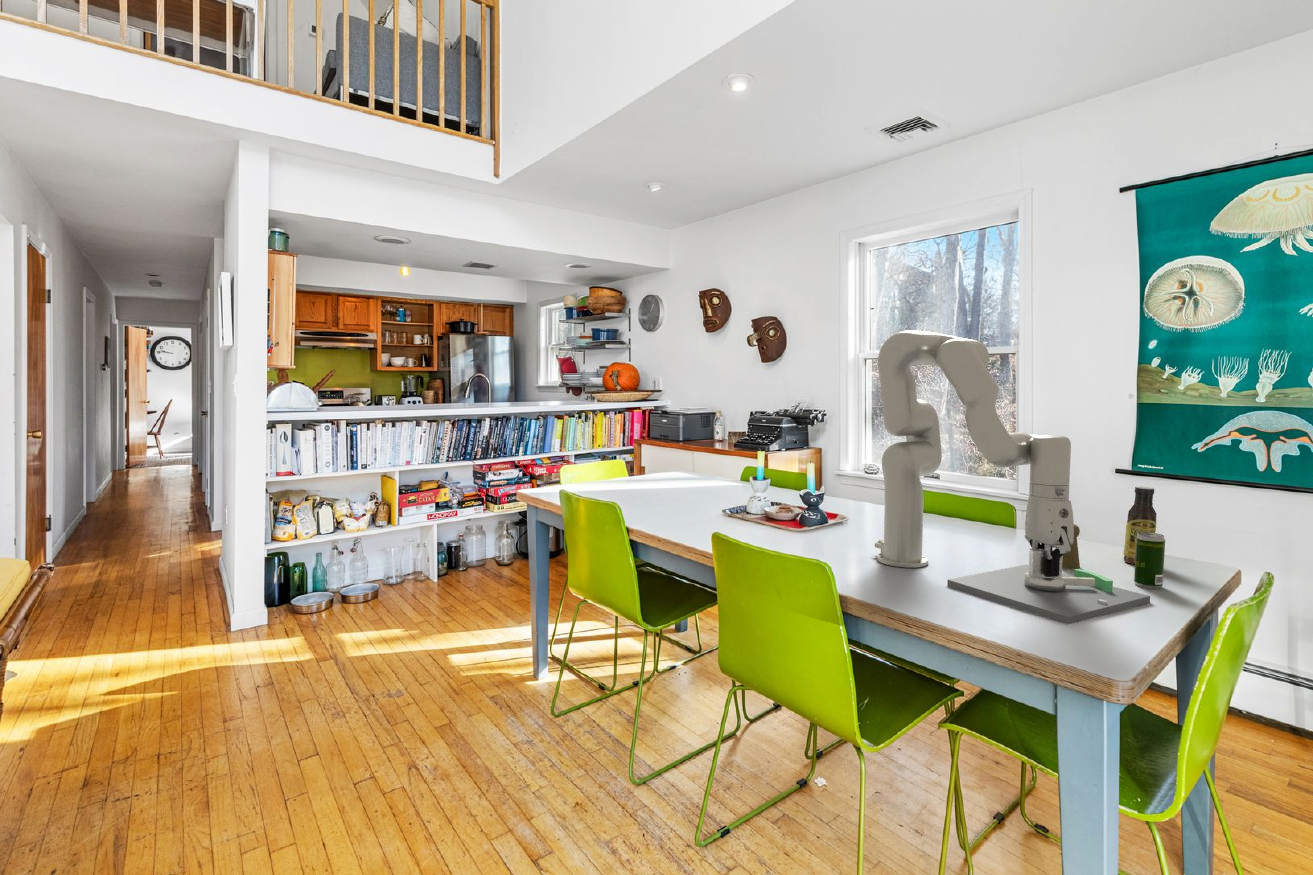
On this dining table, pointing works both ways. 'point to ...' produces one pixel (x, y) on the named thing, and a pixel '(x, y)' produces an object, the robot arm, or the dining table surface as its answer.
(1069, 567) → the cork
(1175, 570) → the dining table surface
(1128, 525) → the sauce bottle
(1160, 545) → the beer can
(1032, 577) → the knob
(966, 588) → the dial board
